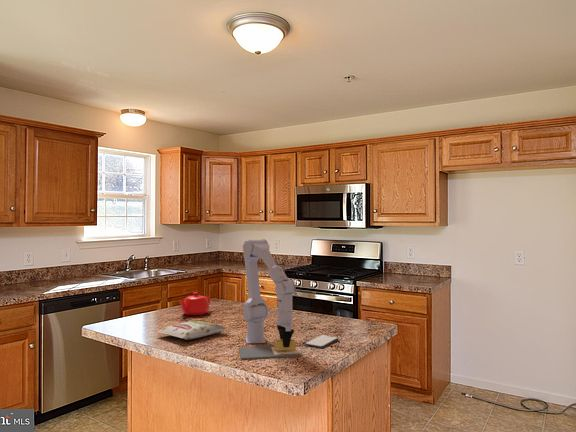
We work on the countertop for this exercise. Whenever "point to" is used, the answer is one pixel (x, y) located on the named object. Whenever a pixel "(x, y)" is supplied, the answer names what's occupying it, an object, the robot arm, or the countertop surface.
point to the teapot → (195, 305)
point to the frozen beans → (192, 329)
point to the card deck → (279, 346)
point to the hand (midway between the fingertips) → (285, 345)
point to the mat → (265, 352)
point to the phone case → (321, 341)
